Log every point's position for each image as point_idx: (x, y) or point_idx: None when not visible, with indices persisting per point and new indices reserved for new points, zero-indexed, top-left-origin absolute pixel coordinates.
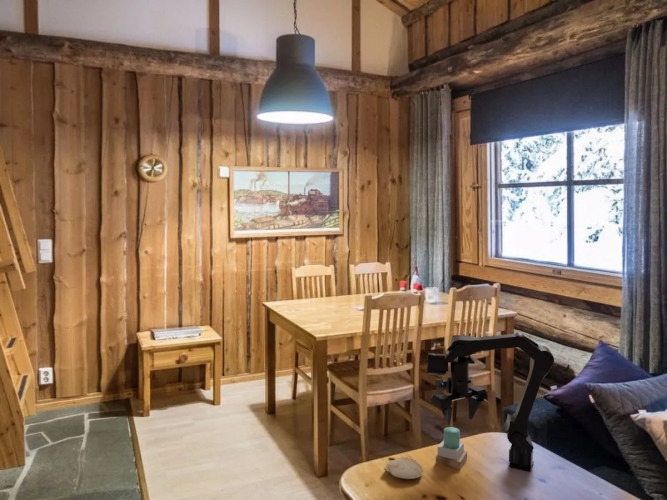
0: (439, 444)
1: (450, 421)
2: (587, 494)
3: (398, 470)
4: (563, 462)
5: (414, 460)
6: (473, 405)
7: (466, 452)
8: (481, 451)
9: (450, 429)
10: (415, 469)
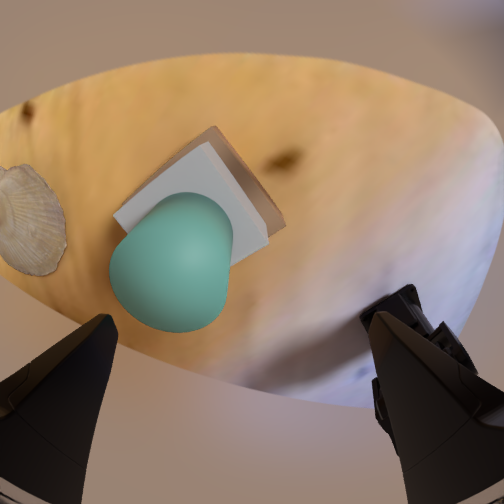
0: (131, 199)
1: (109, 373)
2: (373, 408)
3: (3, 239)
4: (457, 331)
5: (50, 189)
6: (421, 458)
7: (275, 232)
8: (375, 194)
9: (163, 270)
10: (42, 244)
